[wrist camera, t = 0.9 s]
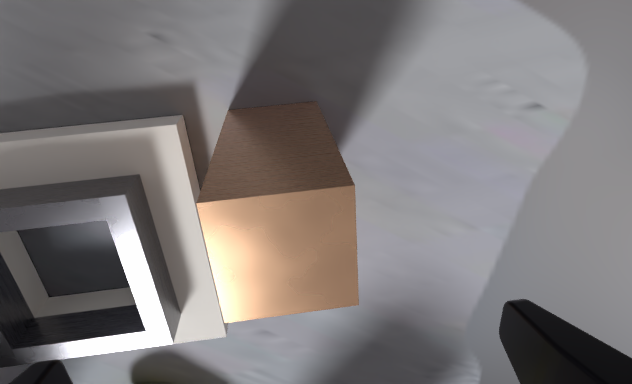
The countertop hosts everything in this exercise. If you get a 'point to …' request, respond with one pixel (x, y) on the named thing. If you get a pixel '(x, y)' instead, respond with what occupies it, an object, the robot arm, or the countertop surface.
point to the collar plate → (126, 229)
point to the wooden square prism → (279, 215)
